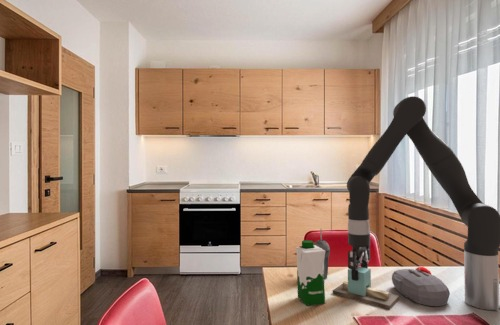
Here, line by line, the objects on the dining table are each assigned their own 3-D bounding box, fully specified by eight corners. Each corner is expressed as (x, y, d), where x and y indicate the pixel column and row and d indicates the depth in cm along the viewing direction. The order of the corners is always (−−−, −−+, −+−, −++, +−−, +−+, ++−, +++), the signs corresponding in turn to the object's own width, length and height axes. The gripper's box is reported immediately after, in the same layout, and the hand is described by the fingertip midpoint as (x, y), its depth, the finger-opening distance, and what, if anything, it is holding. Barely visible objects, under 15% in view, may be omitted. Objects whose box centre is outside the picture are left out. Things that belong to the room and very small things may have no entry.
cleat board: (399, 299, 112) (399, 290, 112) (389, 309, 104) (389, 299, 104) (344, 285, 125) (344, 277, 125) (332, 293, 117) (332, 284, 117)
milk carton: (316, 293, 117) (315, 238, 117) (329, 304, 108) (328, 244, 108) (294, 296, 115) (293, 240, 115) (305, 307, 106) (304, 247, 106)
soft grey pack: (385, 286, 124) (418, 310, 104) (385, 264, 124) (417, 284, 104) (423, 284, 125) (461, 307, 105) (422, 263, 125) (461, 282, 105)
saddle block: (370, 291, 116) (370, 268, 116) (364, 296, 112) (364, 273, 112) (354, 287, 120) (354, 265, 120) (348, 292, 115) (347, 269, 115)
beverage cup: (311, 279, 131) (310, 230, 131) (313, 273, 138) (312, 227, 138) (330, 281, 129) (329, 231, 129) (331, 275, 136) (330, 227, 136)
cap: (431, 278, 122) (435, 267, 126) (415, 271, 125) (419, 260, 129) (426, 290, 127) (429, 278, 130) (410, 282, 130) (414, 271, 133)
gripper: (361, 236, 108) (362, 285, 108) (376, 229, 119) (377, 273, 119) (340, 233, 113) (341, 280, 113) (356, 227, 124) (357, 269, 123)
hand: (359, 276), depth 116 cm, fingers open, 8 cm apart
